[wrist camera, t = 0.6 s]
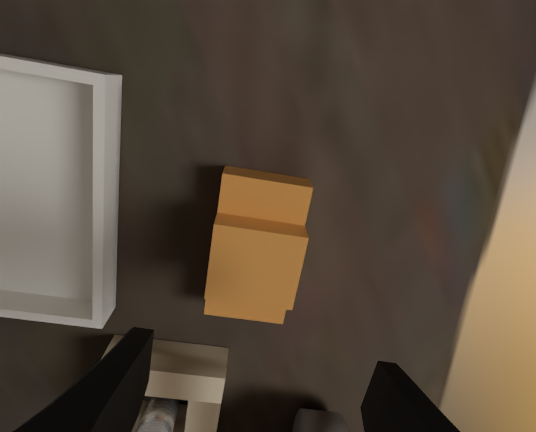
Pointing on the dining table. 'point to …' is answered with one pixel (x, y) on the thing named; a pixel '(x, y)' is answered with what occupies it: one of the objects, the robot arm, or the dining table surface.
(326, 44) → the dining table surface
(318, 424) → the trolley
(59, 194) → the parts tray
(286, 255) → the tan stepped block
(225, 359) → the pin socket
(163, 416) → the pin
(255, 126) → the dining table surface
